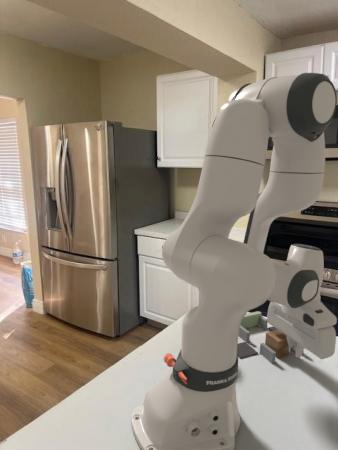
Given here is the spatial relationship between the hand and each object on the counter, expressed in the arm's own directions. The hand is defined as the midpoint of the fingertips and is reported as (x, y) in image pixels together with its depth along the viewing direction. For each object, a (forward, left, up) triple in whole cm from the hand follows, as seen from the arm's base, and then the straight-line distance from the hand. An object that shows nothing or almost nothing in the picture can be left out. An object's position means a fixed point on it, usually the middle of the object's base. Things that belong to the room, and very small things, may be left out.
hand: (295, 354), depth 89 cm
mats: (-1, +12, -3) cm, 13 cm away
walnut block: (0, +6, -3) cm, 7 cm away
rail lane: (0, +11, -3) cm, 11 cm away
